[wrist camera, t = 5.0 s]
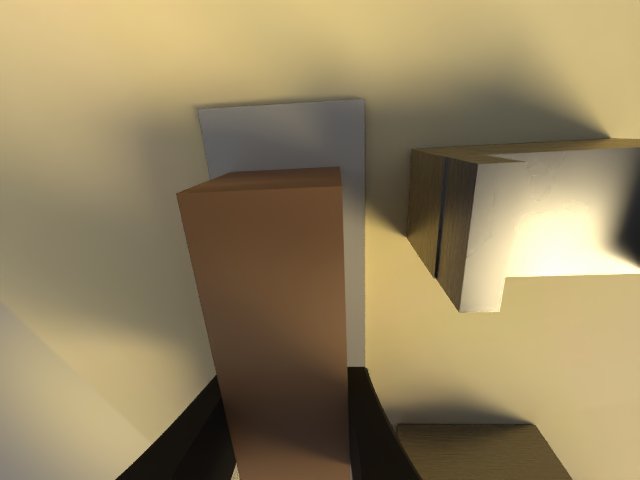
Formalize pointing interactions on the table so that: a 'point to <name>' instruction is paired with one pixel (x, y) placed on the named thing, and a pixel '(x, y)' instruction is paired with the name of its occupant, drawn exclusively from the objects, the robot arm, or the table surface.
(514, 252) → the post
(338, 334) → the rail
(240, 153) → the mat
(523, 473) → the post
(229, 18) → the table surface
